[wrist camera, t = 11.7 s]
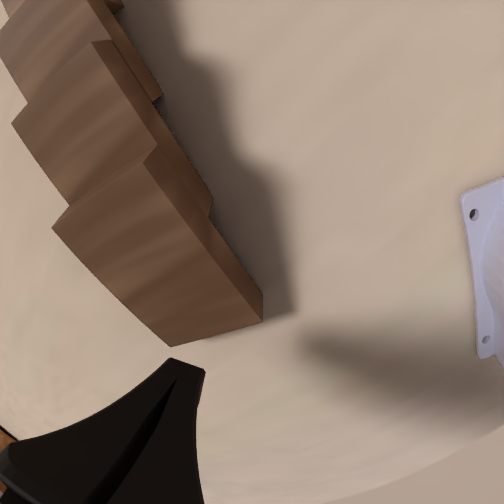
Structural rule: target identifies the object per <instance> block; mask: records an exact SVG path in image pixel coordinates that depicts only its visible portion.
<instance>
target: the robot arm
mask: <svg viewBox="0 0 504 504" xmlns="http://www.w3.org/2000/svg"><path fill="white" fill-rule="evenodd" d="M459 206H460V210H461V215H462V220H463V225H464V230H465V235H466V241H467V247H468V253H469V260H470V267H471V275H472V284H473V294H474V305H475V320H476V353H477V355H478V357H479V358H480V359H486V358H488V357H490V356H492V355H494V354H495V356H496V358H497V359H498V361H499V363H500V365H501V366H502V368H503V370H504V176H502V177H500V178H497V179H495V180H492V181H490V182H487V183H485V184H482V185H480V186H477V187H475V188H472V189H469V190H467V191H465V192H464V193H463V194H462V195H461V196H460V200H459ZM473 209H475V215H474V217H472V218H470V217H469V215H470V212H471V210H473ZM485 336H486V338H484V337H485ZM483 338H484V339H483ZM205 373H206V372H205V370H204V369H202V368H199V367H196V366H194V365H191V364H188V363H185V362H182V361H179V360H177V359H174V358H168V359H167V360H166V361H165V362H164V363H163V364H162V365H161V366H160V367H159V368H158V369H157V370H156V371H155V372H153V373H152V374H151V375H150V376H149V377H148V378H146V379H145V380H144V381H143V382H141V383H140V384H139V385H138V386H136V387H135V388H134V389H132V390H131V391H130V392H128V393H127V394H126V395H124V396H123V397H121V398H120V399H118V400H117V401H115V402H114V403H112V404H111V405H109V406H107V407H106V408H104V409H102V410H101V411H99V412H97V413H95V414H93V415H92V416H90V417H88V418H86V419H83V420H81V421H79V422H77V423H75V424H73V425H70V426H68V427H65V428H63V429H60V430H57V431H54V432H51V433H48V434H45V435H42V436H38V437H34V438H30V439H25V440H21V441H16V442H11V443H9V444H8V445H7V446H6V447H5V448H4V449H3V450H2V451H1V452H0V481H1V482H2V483H3V484H4V485H5V486H6V487H7V489H6V490H5V492H4V493H2V492H1V491H0V504H204V500H203V495H202V489H201V484H200V478H199V470H198V461H197V448H196V417H197V407H198V404H199V401H200V396H201V392H202V387H203V382H204V378H205Z"/></svg>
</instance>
